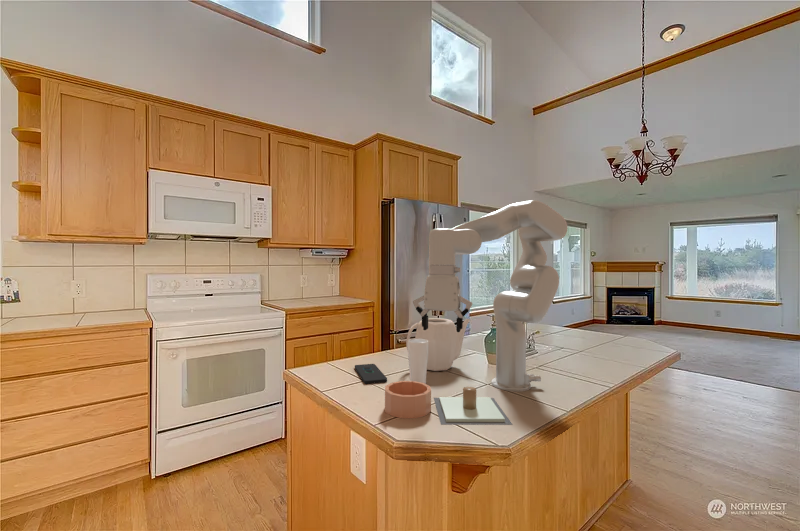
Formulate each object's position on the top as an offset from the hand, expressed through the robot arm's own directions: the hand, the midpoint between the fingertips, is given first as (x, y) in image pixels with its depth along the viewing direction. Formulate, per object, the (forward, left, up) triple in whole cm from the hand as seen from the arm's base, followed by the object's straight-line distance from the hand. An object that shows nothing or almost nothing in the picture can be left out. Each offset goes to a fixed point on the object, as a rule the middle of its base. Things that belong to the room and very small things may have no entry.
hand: (441, 330), depth 104 cm
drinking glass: (+6, -16, -22) cm, 27 cm away
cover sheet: (-7, +5, -21) cm, 23 cm away
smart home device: (+23, -27, -22) cm, 42 cm away
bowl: (+10, +4, -21) cm, 24 cm away
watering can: (-3, -37, -22) cm, 43 cm away
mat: (-7, +5, -21) cm, 23 cm away
